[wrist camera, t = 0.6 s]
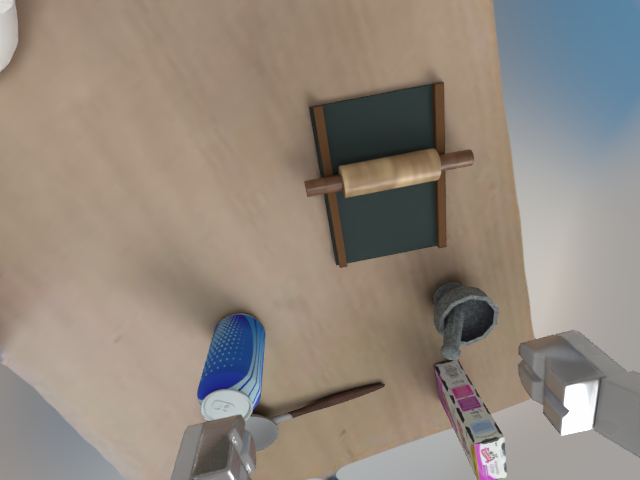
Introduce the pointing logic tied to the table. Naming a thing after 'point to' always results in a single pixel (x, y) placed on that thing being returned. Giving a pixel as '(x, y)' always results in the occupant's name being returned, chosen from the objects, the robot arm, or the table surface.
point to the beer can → (233, 368)
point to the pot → (8, 31)
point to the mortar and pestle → (462, 316)
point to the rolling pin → (389, 172)
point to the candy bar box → (471, 422)
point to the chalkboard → (378, 142)
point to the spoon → (267, 430)
